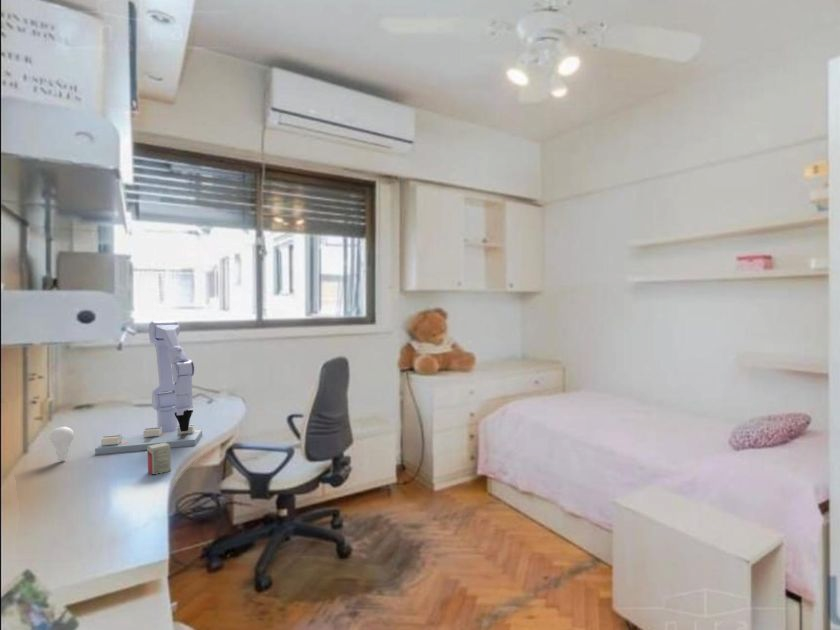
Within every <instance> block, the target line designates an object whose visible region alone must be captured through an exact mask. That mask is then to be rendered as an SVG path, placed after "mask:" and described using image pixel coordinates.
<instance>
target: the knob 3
mask: <svg viewBox="0 0 840 630" xmlns="http://www.w3.org/2000/svg"><path fill="white" fill-rule="evenodd" d="M194 430H195V424H193V423H192V424H189V427H188V431H182V432H181V430H180V426H178V428H177V434H185V433H193V431H194Z"/></svg>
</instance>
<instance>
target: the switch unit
mask: <svg viewBox="0 0 840 630" xmlns="http://www.w3.org/2000/svg"><path fill="white" fill-rule="evenodd" d="M202 436H203V429H194V431H193V433H185V434H177V432H168V433H162V434H161V435H159V436H151V437H144V434H137V435H125V436H124V435H122V441H121V442H120V443H119V444H113V445H102V446H101V444H100V445H98V446H97V447H96V448H95V449H94V451H95V456H97V455H107V454H116V453H117V454H118V453H127V452H128V453H129V452H139V451H147V446H150V445H155V444H160V443H167V444H169V445H170V449H171V448H181V447H191V446H196V445H197V444H198V442H199V441H200V439H201V437H202Z"/></svg>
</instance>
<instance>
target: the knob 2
mask: <svg viewBox="0 0 840 630" xmlns="http://www.w3.org/2000/svg"><path fill="white" fill-rule="evenodd" d="M161 434H162V427H157V426H156V427H147V428H144V429H143V435H144V437H151V436H159V435H161Z"/></svg>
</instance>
